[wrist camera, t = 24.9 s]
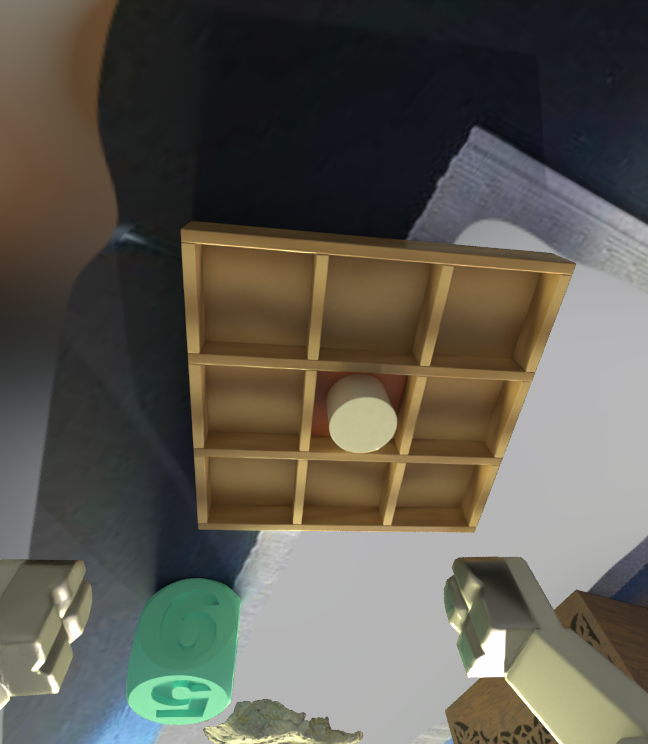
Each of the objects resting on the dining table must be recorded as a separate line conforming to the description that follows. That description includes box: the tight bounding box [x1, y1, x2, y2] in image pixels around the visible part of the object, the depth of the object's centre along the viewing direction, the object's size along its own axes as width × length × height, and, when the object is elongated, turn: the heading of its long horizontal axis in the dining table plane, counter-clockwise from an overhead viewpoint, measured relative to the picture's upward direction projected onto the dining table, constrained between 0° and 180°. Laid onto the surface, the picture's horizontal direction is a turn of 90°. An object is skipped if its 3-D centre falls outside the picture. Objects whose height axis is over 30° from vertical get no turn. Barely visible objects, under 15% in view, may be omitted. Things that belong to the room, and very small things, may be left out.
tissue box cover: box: [445, 590, 648, 744], centre depth 46 cm, size 26×14×10 cm, turn 156°
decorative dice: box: [126, 578, 241, 725], centre depth 36 cm, size 8×8×8 cm
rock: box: [203, 699, 363, 744], centre depth 52 cm, size 19×11×2 cm, turn 51°
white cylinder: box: [326, 374, 397, 453], centre depth 28 cm, size 4×4×3 cm
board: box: [181, 221, 576, 532], centre depth 29 cm, size 22×22×3 cm
